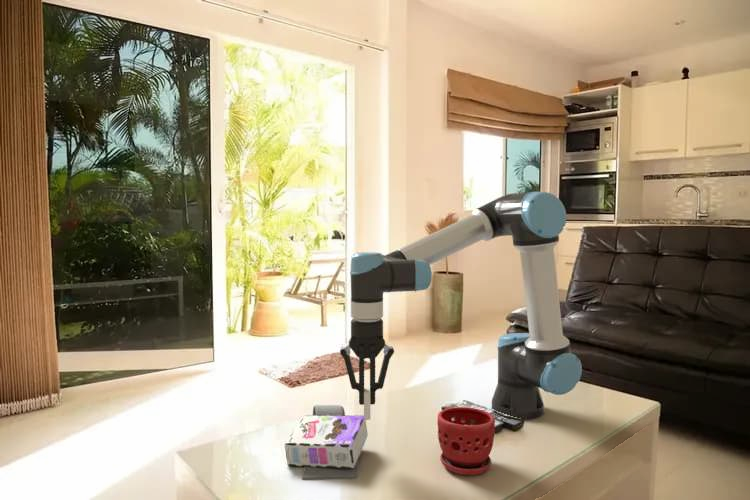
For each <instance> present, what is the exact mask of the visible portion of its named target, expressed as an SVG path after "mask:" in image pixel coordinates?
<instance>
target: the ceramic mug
mask: <svg viewBox="0 0 750 500" xmlns="http://www.w3.org/2000/svg"><path fill="white" fill-rule="evenodd" d="M312 408H313V409H312V416H346V412H345V411H346V410H345V408H344V406H342V405H340V404H314V406H313V407H312Z"/></svg>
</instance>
